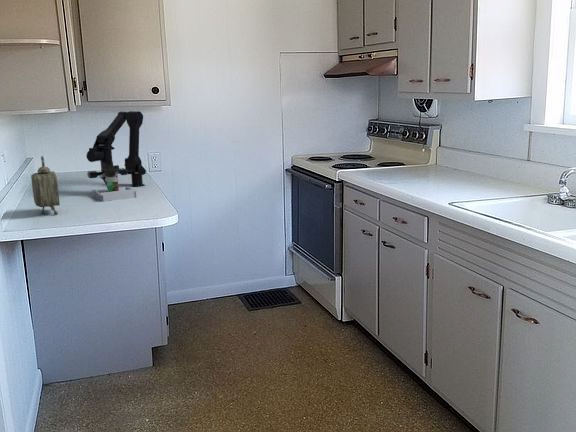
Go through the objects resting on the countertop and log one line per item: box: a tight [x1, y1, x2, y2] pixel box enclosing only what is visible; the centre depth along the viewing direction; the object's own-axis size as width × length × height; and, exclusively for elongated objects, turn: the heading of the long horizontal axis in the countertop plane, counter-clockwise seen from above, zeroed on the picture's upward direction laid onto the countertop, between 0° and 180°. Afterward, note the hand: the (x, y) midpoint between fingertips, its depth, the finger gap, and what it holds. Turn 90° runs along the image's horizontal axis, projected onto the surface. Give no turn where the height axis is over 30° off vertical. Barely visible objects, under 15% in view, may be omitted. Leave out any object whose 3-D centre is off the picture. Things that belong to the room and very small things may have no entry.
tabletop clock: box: [30, 155, 61, 216], centre depth 248 cm, size 14×9×25 cm, turn 28°
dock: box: [92, 185, 137, 202], centre depth 283 cm, size 15×17×4 cm
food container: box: [105, 174, 120, 192], centre depth 284 cm, size 12×6×10 cm, turn 16°
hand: (108, 189), depth 292 cm, fingers closed
